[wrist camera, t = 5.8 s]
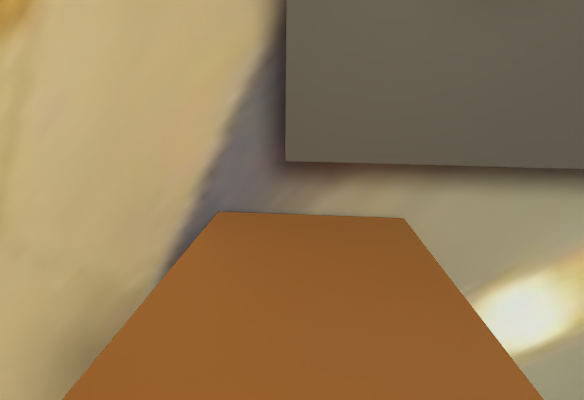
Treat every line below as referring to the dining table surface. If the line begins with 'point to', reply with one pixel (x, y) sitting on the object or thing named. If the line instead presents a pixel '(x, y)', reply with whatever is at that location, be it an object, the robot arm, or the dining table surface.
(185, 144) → the dining table surface
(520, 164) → the pin board
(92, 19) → the dining table surface
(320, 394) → the terracotta colored cube
